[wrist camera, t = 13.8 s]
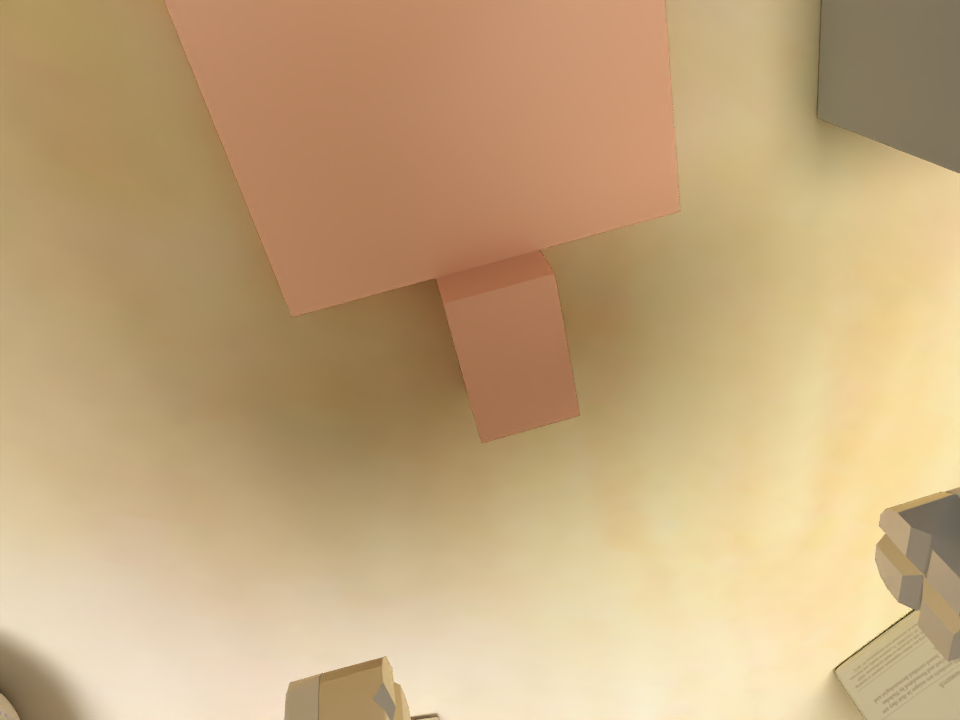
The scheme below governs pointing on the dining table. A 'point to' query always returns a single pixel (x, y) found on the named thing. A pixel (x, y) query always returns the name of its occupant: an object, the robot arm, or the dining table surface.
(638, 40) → the lid
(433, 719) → the milk carton
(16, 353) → the dining table surface
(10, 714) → the paper bowls
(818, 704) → the dining table surface
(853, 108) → the tub
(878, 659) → the supplement box
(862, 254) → the dining table surface
